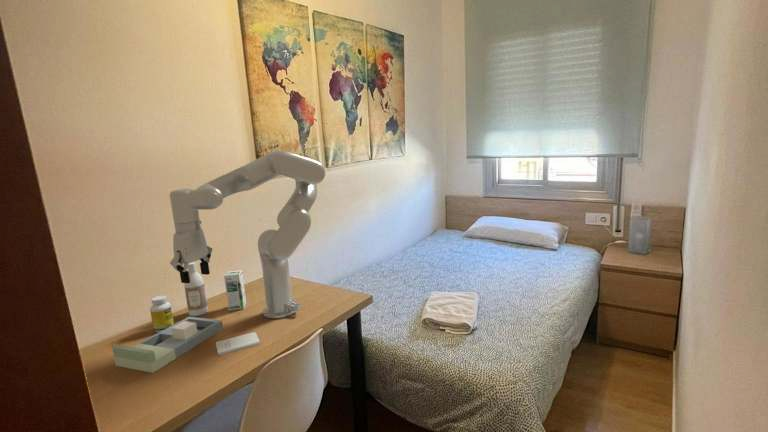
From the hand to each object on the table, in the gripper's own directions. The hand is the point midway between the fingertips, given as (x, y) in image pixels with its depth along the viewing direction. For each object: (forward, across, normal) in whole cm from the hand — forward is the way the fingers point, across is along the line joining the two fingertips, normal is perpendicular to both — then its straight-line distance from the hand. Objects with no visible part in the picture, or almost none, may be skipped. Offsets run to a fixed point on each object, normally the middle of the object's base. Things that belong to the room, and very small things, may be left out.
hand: (195, 278), depth 133 cm
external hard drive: (+21, +4, +17) cm, 27 cm away
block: (+17, +8, 0) cm, 18 cm away
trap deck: (+20, +10, -4) cm, 22 cm away
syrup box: (+20, -21, -4) cm, 30 cm away
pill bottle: (+20, +1, -18) cm, 27 cm away
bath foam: (+20, -13, -16) cm, 29 cm away
